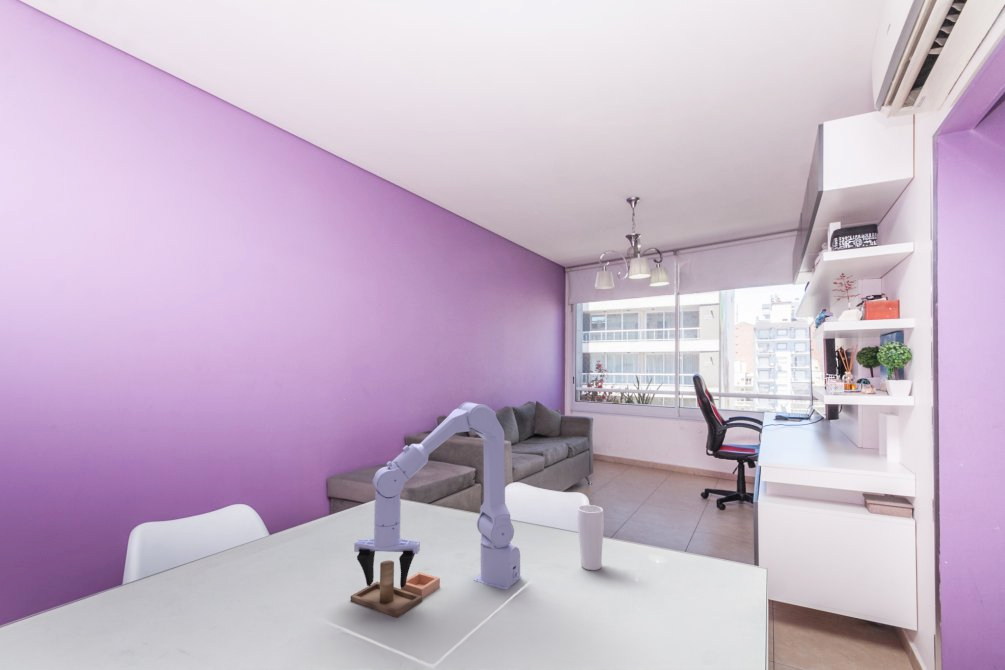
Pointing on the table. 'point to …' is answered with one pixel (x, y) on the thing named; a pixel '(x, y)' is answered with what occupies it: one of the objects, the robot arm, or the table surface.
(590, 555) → the drinking glass
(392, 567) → the dowel
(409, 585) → the open box
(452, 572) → the table surface
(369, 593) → the tray
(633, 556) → the table surface
